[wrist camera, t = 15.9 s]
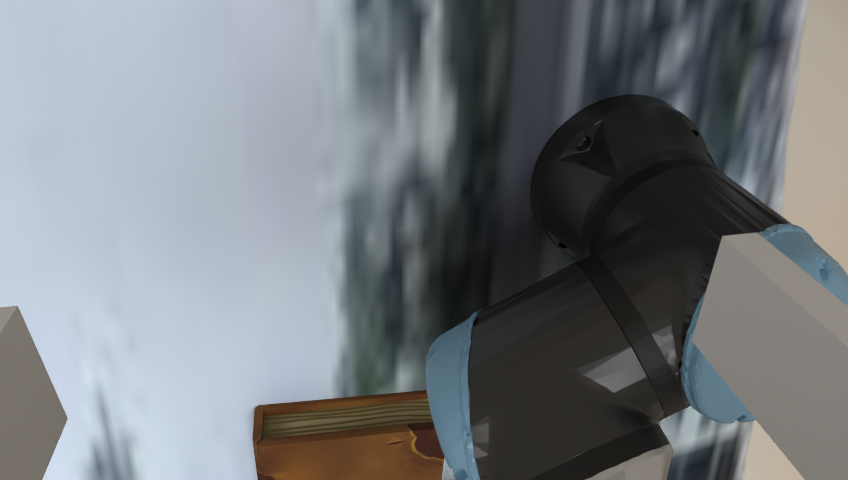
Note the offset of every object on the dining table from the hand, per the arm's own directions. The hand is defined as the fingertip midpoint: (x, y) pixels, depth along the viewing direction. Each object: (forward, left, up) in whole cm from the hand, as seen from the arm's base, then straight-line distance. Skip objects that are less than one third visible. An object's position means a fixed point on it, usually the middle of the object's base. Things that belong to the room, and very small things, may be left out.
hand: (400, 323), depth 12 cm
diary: (+1, +51, -37) cm, 63 cm away
